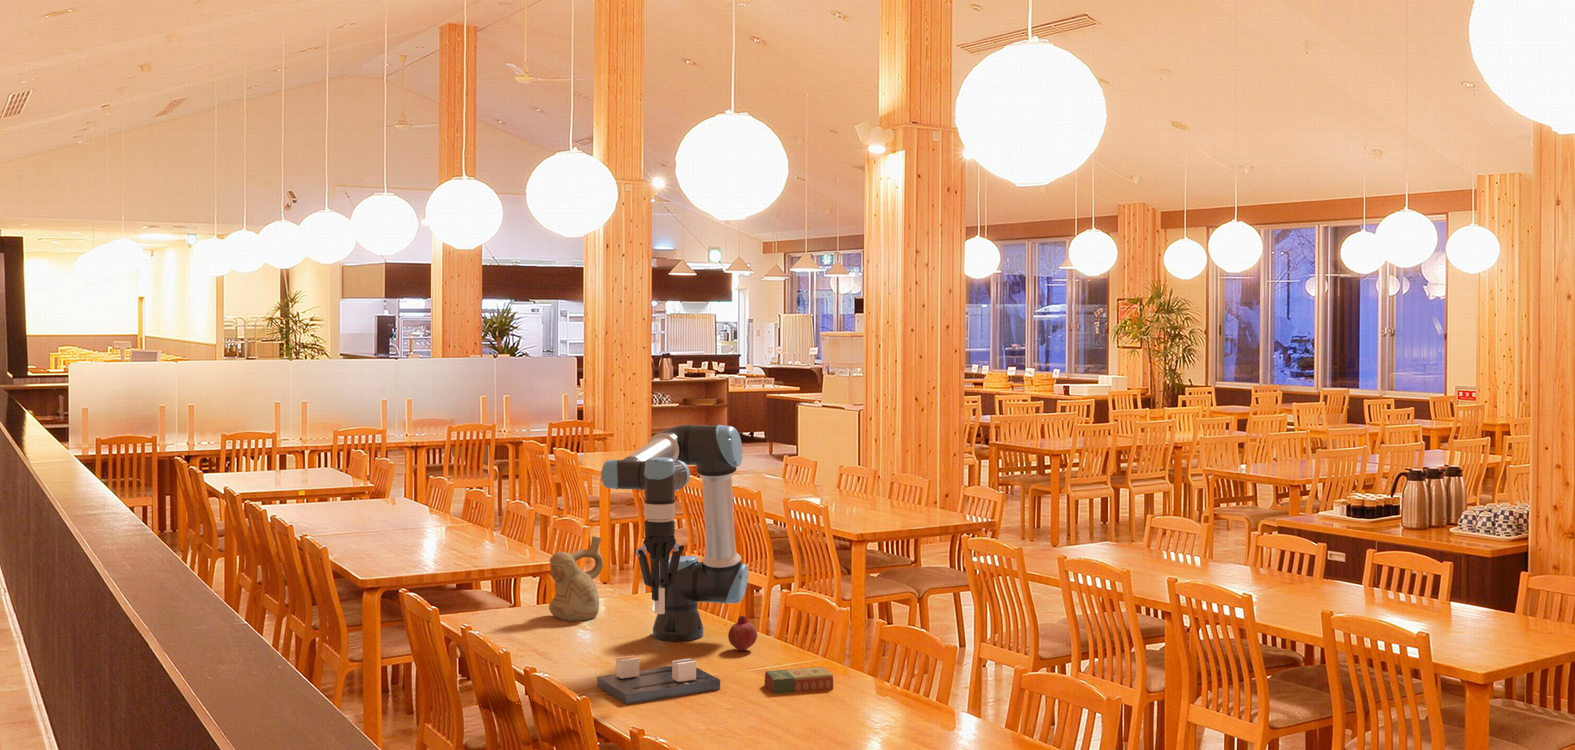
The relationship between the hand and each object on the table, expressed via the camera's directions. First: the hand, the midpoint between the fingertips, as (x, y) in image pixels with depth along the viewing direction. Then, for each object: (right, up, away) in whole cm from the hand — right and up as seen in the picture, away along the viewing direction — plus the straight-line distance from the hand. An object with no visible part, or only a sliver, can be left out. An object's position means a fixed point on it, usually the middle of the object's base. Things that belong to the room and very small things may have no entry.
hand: (659, 612), depth 320 cm
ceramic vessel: (-34, -17, +83) cm, 91 cm away
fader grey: (+6, -18, +3) cm, 19 cm away
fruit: (+19, -19, +43) cm, 51 cm away
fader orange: (-9, -17, +6) cm, 20 cm away
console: (-1, -20, +5) cm, 21 cm away
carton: (+35, -21, +6) cm, 41 cm away
